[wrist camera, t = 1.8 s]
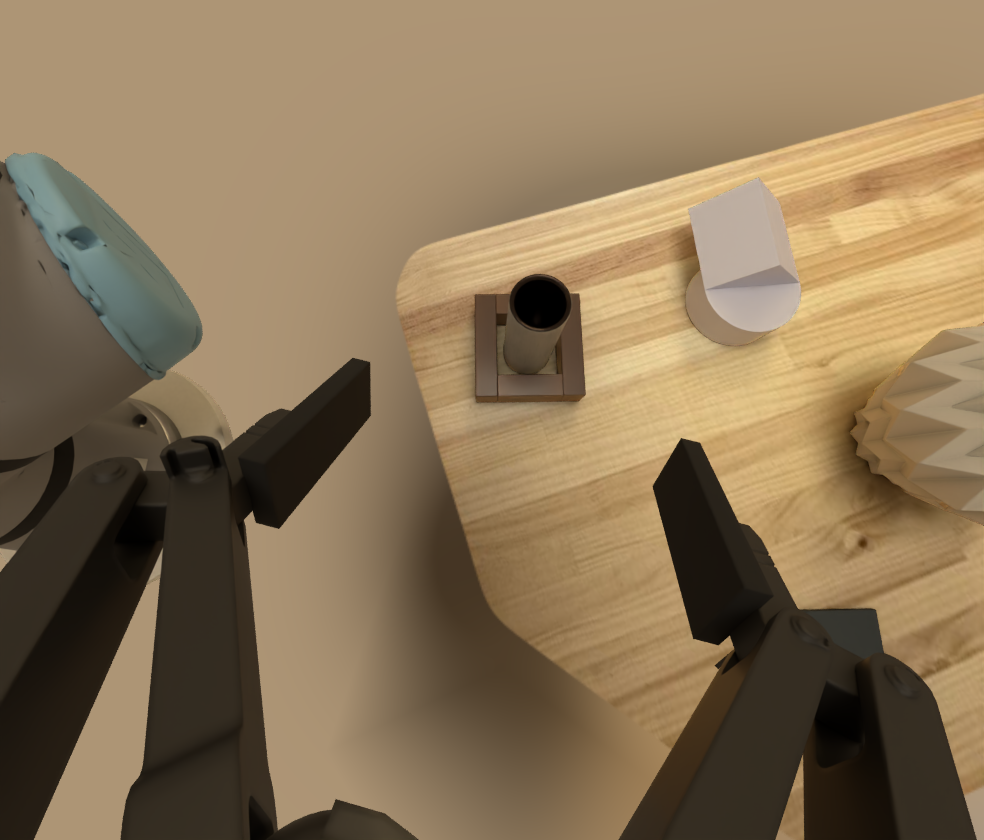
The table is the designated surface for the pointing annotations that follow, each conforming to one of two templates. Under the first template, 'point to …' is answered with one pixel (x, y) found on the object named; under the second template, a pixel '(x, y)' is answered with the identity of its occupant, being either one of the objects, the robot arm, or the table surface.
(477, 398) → the brown square frame
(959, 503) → the vase
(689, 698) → the table surface
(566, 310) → the beige hollow cylinder
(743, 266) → the wedge on round base
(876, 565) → the table surface
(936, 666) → the table surface
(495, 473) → the table surface
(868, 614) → the mat
